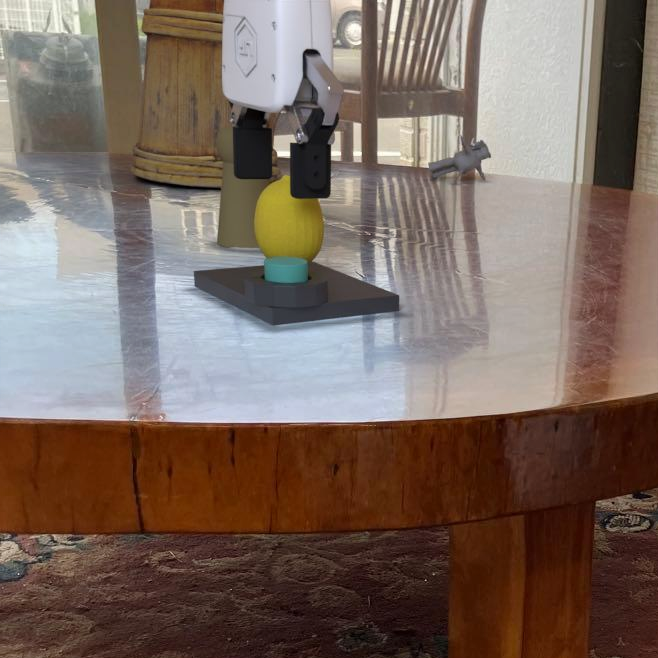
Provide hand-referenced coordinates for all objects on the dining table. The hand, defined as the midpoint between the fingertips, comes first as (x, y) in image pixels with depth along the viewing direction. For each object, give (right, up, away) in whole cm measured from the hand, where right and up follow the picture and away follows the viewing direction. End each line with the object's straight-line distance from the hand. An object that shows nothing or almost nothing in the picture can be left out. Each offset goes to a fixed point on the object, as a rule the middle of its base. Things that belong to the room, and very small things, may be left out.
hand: (280, 187), depth 89 cm
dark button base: (+1, -9, +1) cm, 9 cm away
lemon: (0, -6, +3) cm, 7 cm away
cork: (-8, +1, +21) cm, 23 cm away
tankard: (-21, +19, +58) cm, 65 cm away
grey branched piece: (+9, +24, +73) cm, 77 cm away
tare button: (+2, -9, -5) cm, 10 cm away
